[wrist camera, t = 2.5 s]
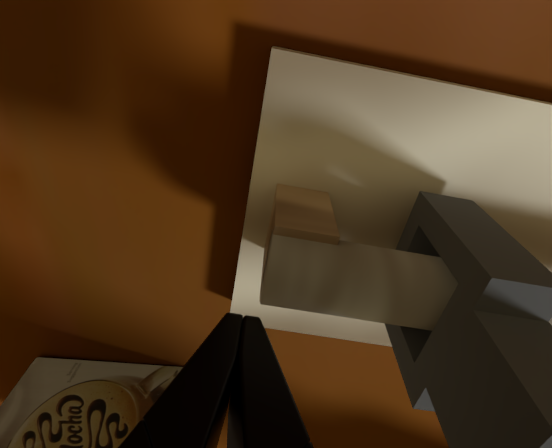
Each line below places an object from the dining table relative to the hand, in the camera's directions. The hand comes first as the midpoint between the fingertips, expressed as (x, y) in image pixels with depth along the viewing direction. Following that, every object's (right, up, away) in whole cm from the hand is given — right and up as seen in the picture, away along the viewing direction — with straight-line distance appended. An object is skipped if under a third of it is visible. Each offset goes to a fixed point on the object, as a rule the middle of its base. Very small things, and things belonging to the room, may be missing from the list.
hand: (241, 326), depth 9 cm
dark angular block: (+6, +1, +5) cm, 8 cm away
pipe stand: (+12, +2, +7) cm, 15 cm away
